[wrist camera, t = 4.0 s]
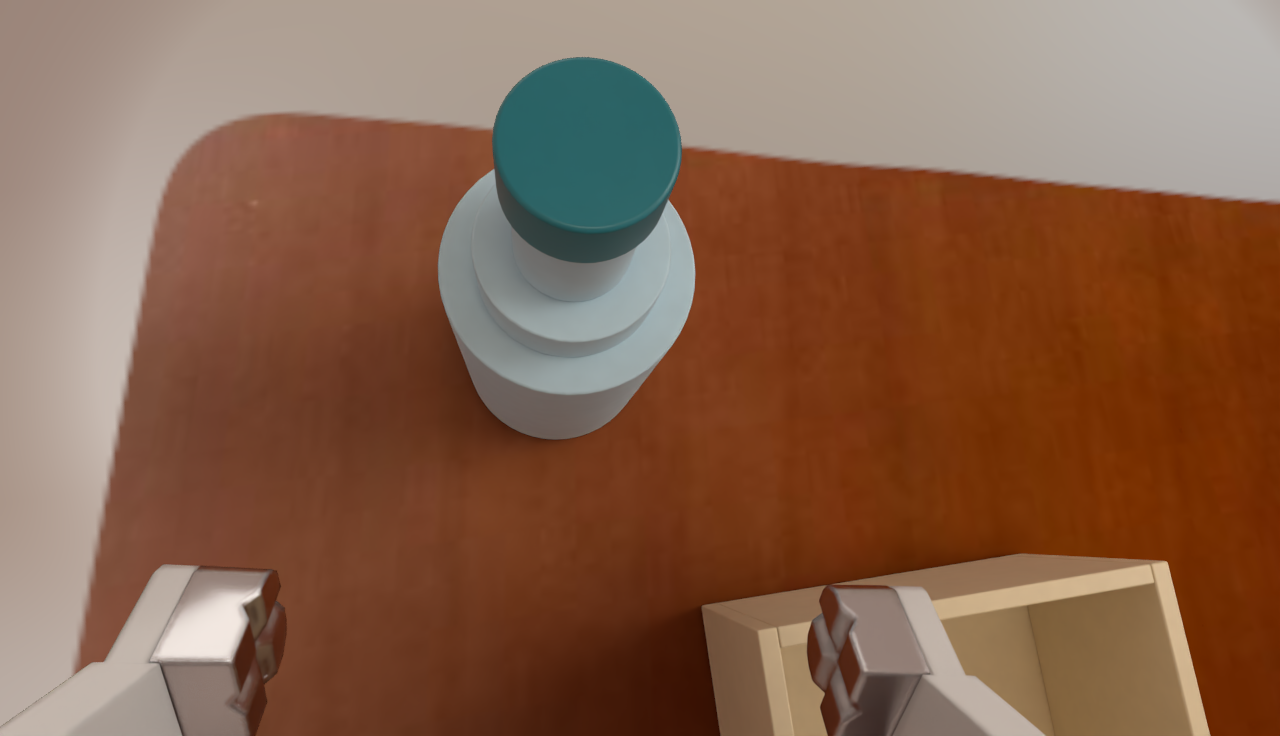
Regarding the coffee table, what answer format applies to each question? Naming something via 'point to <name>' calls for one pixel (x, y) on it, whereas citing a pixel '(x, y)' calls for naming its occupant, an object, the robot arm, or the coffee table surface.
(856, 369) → the coffee table surface
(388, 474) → the coffee table surface
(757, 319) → the coffee table surface
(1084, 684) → the open box
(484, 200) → the bottle
